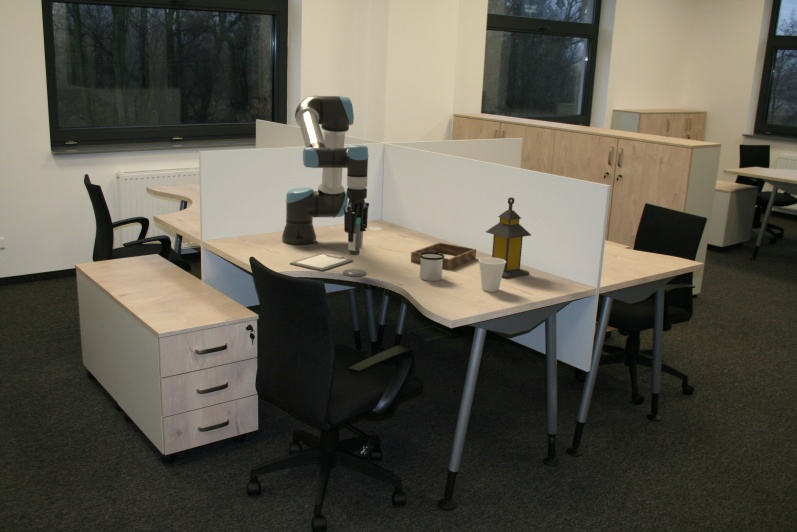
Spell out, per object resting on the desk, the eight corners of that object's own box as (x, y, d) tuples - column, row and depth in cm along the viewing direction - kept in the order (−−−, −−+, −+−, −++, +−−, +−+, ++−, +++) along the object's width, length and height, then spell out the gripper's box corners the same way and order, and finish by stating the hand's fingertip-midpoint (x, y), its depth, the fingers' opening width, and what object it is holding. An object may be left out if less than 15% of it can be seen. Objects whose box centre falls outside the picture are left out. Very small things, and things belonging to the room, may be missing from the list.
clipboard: (321, 254, 310) (321, 251, 310) (352, 261, 302) (352, 258, 302) (290, 264, 294) (290, 261, 293) (322, 271, 286) (322, 268, 285)
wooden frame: (438, 251, 324) (439, 242, 323) (475, 258, 315) (476, 249, 314) (410, 261, 305) (411, 252, 304) (449, 269, 296) (449, 259, 295)
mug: (435, 283, 277) (436, 259, 274) (413, 278, 282) (414, 255, 279) (450, 276, 287) (452, 253, 284) (429, 272, 291) (430, 249, 289)
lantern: (480, 270, 297) (485, 196, 289) (505, 266, 305) (511, 193, 297) (505, 279, 286) (511, 202, 278) (530, 274, 294) (537, 199, 287)
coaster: (352, 269, 291) (352, 267, 291) (370, 273, 286) (371, 271, 286) (338, 273, 283) (338, 272, 283) (357, 278, 279) (357, 276, 279)
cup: (474, 285, 276) (476, 256, 273) (500, 286, 277) (502, 257, 274) (479, 293, 266) (481, 263, 263) (506, 294, 267) (509, 264, 264)
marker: (352, 252, 286) (353, 216, 282) (361, 253, 284) (362, 217, 280) (346, 254, 282) (347, 217, 278) (355, 255, 280) (356, 219, 277)
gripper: (361, 183, 285) (360, 243, 291) (334, 188, 271) (333, 251, 277) (378, 186, 281) (376, 246, 287) (351, 191, 267) (350, 254, 273)
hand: (355, 248), depth 282 cm, fingers closed on marker, 4 cm apart
